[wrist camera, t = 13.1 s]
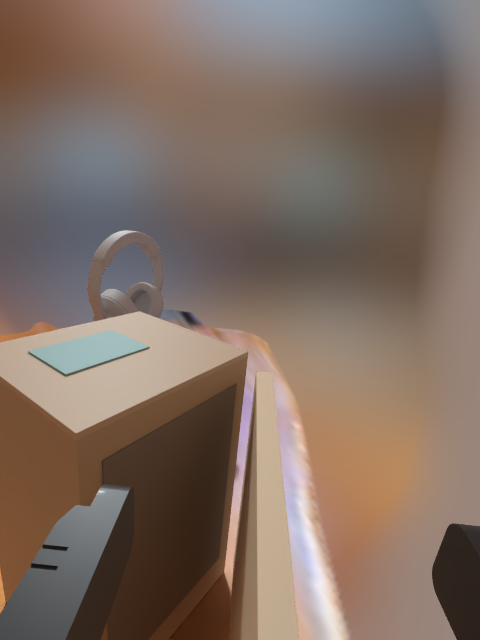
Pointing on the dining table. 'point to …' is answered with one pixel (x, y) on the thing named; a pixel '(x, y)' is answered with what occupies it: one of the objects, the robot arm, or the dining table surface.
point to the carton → (124, 454)
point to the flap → (263, 533)
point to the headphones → (138, 295)
